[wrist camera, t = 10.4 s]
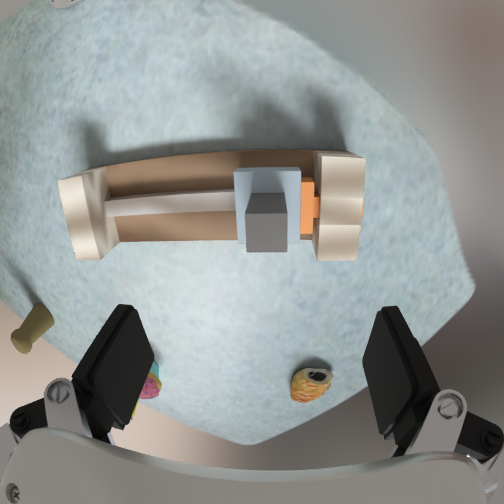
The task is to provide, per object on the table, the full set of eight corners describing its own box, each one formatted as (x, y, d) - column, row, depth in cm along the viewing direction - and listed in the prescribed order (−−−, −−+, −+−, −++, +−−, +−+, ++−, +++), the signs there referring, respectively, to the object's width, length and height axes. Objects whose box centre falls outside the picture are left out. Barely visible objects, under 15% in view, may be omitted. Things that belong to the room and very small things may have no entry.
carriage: (238, 165, 27) (221, 186, 18) (297, 164, 27) (309, 185, 18) (242, 228, 30) (228, 275, 21) (296, 228, 30) (305, 275, 21)
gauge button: (298, 177, 26) (301, 182, 23) (359, 179, 25) (366, 184, 23) (298, 224, 28) (300, 233, 26) (355, 225, 27) (361, 234, 25)
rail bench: (88, 169, 30) (57, 180, 24) (347, 151, 27) (365, 158, 21) (102, 238, 34) (77, 259, 28) (342, 234, 31) (356, 260, 26)
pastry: (315, 396, 47) (316, 411, 43) (282, 392, 47) (281, 408, 43) (334, 367, 43) (337, 384, 39) (298, 363, 42) (299, 380, 39)
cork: (32, 299, 42) (3, 330, 32) (51, 309, 43) (21, 343, 33) (38, 319, 45) (12, 350, 35) (56, 329, 45) (31, 363, 35)
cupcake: (174, 378, 47) (157, 429, 36) (140, 377, 48) (120, 423, 38) (154, 348, 43) (131, 402, 33) (119, 348, 45) (93, 396, 34)
